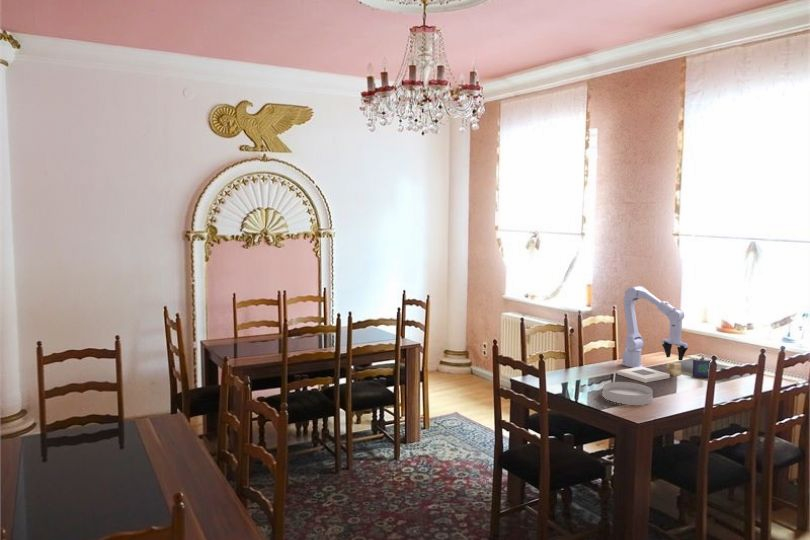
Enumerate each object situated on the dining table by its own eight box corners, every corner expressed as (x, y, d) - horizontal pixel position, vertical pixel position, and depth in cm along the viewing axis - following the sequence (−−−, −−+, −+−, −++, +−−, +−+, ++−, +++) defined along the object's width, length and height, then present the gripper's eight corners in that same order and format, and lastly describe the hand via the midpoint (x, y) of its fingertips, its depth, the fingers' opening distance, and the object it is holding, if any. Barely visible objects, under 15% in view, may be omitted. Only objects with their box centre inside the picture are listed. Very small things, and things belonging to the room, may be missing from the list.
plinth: (617, 374, 337) (617, 370, 336) (641, 370, 345) (641, 366, 345) (645, 382, 321) (645, 378, 321) (669, 378, 329) (669, 373, 329)
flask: (709, 375, 334) (710, 355, 332) (712, 377, 331) (713, 357, 329) (691, 375, 334) (692, 355, 333) (693, 377, 331) (694, 357, 330)
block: (666, 373, 338) (666, 362, 337) (672, 372, 340) (673, 361, 340) (674, 376, 333) (674, 364, 333) (680, 374, 336) (681, 363, 335)
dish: (612, 389, 311) (613, 379, 310) (659, 397, 297) (659, 387, 296) (594, 399, 294) (594, 389, 293) (642, 409, 280) (643, 398, 279)
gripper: (658, 331, 339) (657, 356, 340) (682, 336, 326) (680, 362, 328) (667, 330, 342) (666, 355, 344) (691, 334, 329) (690, 360, 331)
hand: (674, 358), depth 336 cm, fingers open, 7 cm apart
